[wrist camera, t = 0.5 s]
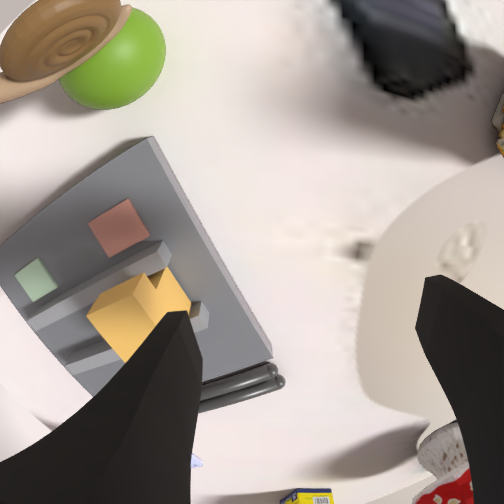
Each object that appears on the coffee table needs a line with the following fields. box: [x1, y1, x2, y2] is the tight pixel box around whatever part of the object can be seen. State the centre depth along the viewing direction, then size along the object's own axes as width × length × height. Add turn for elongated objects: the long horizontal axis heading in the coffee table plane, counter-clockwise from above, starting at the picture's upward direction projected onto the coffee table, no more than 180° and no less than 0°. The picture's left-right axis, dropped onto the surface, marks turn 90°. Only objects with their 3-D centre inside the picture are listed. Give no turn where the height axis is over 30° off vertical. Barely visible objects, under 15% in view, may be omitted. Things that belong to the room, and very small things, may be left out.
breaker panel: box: [0, 136, 285, 413], centre depth 20 cm, size 16×20×3 cm
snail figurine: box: [0, 0, 166, 110], centre depth 9 cm, size 5×6×12 cm
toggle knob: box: [86, 267, 191, 363], centre depth 16 cm, size 3×5×5 cm, turn 25°
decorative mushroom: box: [412, 423, 474, 504], centre depth 25 cm, size 14×14×15 cm
